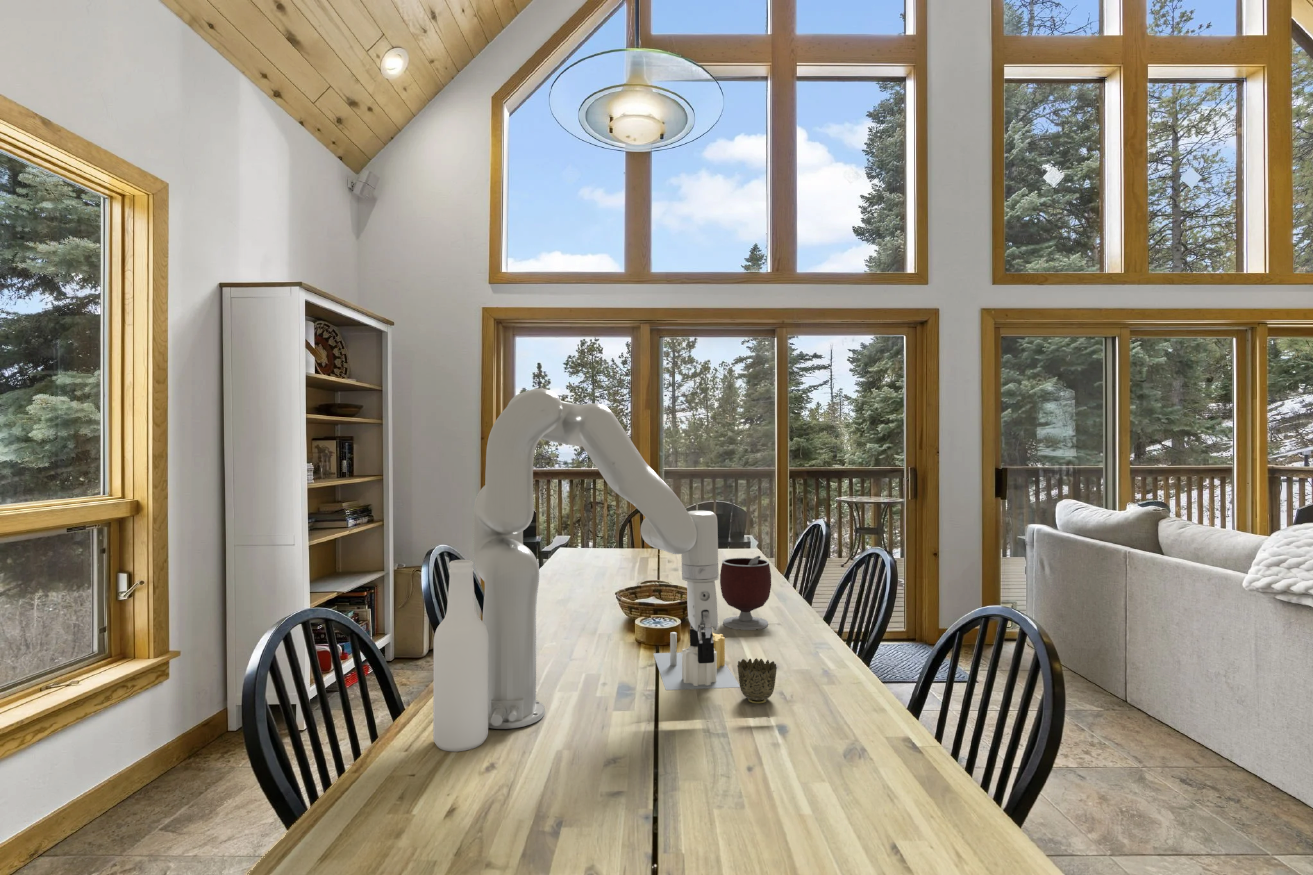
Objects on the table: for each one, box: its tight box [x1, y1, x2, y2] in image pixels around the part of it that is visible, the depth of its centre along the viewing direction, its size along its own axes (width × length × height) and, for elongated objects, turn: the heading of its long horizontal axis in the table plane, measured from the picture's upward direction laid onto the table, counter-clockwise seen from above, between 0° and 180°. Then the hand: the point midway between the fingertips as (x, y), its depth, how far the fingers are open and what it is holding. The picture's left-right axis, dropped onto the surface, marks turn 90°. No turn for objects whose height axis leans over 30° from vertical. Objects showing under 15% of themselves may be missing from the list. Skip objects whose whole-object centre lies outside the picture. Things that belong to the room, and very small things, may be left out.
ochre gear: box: [712, 631, 726, 669], centre depth 154 cm, size 7×7×6 cm
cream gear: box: [681, 645, 717, 686], centre depth 144 cm, size 7×7×6 cm
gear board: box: [653, 631, 740, 691], centre depth 151 cm, size 24×15×8 cm, turn 6°
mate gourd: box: [719, 555, 772, 631], centre depth 192 cm, size 16×14×20 cm
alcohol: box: [432, 559, 489, 753], centre depth 117 cm, size 9×9×30 cm
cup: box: [736, 657, 778, 704], centre depth 133 cm, size 8×7×8 cm
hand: (701, 654), depth 144 cm, fingers open, 9 cm apart
